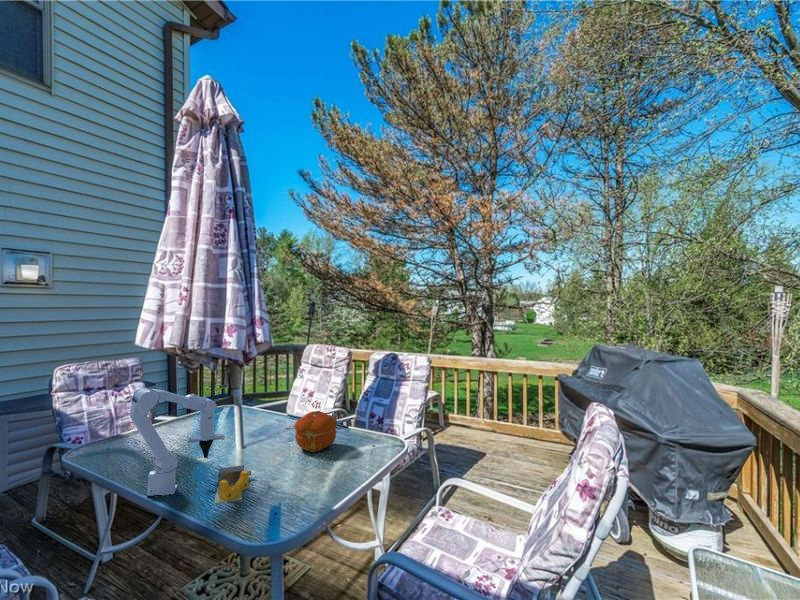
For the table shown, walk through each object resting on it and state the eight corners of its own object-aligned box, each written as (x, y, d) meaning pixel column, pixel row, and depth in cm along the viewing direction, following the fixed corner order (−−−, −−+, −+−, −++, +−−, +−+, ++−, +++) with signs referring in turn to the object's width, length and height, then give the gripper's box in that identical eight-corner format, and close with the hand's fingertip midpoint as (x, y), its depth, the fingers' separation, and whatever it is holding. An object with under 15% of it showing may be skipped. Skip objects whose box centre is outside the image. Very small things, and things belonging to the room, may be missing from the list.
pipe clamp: (226, 500, 150) (226, 484, 150) (219, 498, 152) (219, 481, 152) (251, 488, 160) (251, 472, 161) (244, 485, 163) (244, 470, 163)
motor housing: (213, 503, 148) (214, 490, 148) (219, 479, 168) (219, 468, 168) (249, 498, 152) (250, 486, 152) (251, 475, 173) (251, 464, 173)
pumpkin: (286, 447, 208) (287, 410, 209) (322, 438, 223) (323, 404, 224) (306, 460, 191) (307, 420, 191) (344, 449, 206) (345, 412, 206)
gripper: (186, 430, 163) (185, 462, 163) (223, 427, 168) (223, 458, 168) (189, 425, 170) (188, 456, 170) (225, 422, 175) (224, 452, 175)
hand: (205, 457), depth 169 cm, fingers closed
